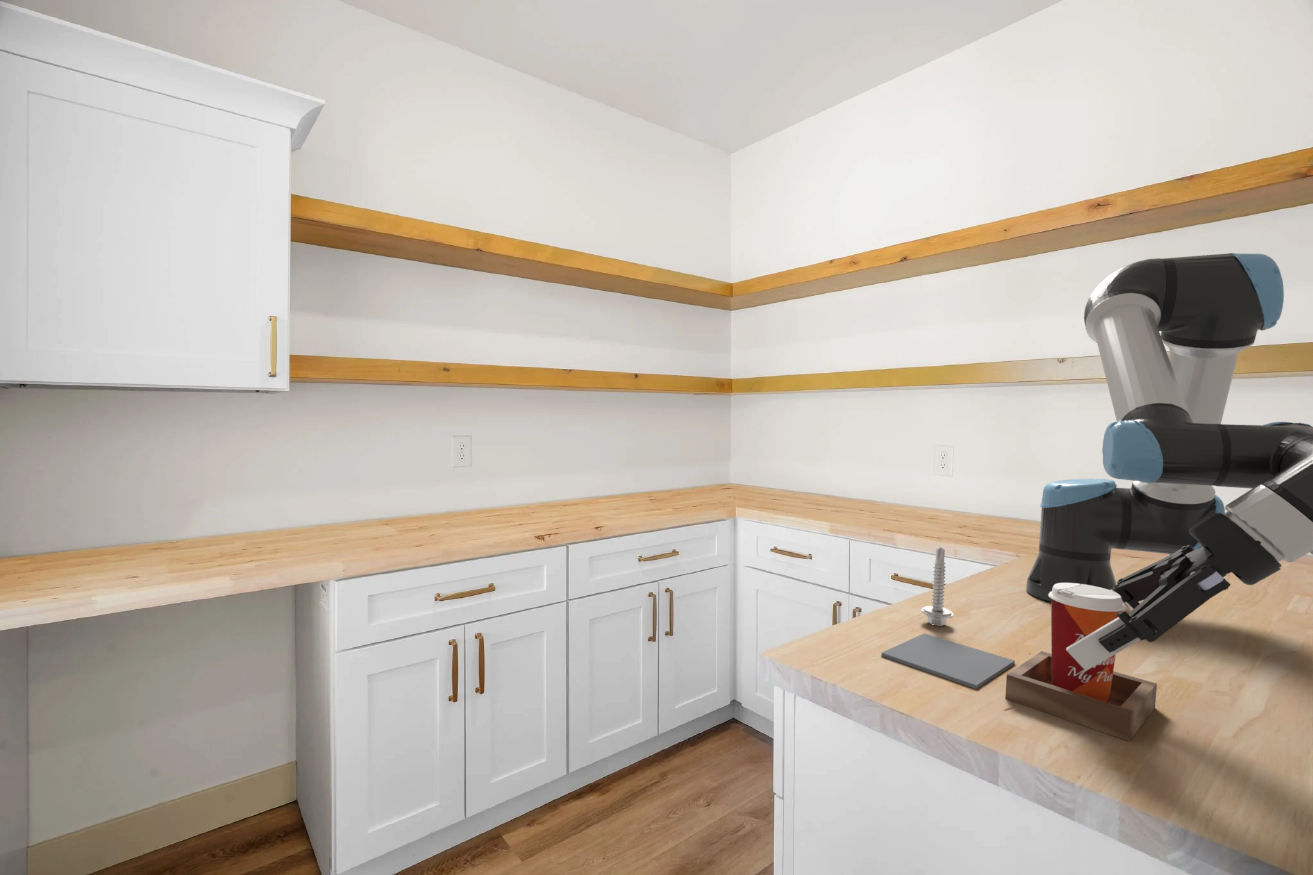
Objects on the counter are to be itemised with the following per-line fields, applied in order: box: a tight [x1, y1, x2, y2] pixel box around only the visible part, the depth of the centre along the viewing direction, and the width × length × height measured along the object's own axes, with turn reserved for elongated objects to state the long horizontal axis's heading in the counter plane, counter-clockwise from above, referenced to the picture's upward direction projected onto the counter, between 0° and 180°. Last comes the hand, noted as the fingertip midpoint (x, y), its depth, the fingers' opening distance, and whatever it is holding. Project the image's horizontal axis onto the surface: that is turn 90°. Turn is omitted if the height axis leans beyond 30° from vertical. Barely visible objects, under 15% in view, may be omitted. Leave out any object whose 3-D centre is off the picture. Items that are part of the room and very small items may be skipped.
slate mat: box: [881, 632, 1016, 690], centre depth 87 cm, size 13×13×1 cm
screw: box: [921, 546, 954, 627], centre depth 102 cm, size 13×5×5 cm
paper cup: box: [1048, 583, 1125, 703], centre depth 75 cm, size 8×8×14 cm
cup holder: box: [1004, 650, 1158, 742], centre depth 75 cm, size 12×12×3 cm
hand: (1074, 641), depth 75 cm, fingers open, 13 cm apart
